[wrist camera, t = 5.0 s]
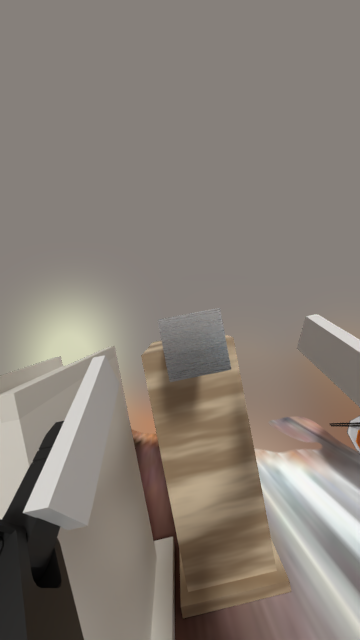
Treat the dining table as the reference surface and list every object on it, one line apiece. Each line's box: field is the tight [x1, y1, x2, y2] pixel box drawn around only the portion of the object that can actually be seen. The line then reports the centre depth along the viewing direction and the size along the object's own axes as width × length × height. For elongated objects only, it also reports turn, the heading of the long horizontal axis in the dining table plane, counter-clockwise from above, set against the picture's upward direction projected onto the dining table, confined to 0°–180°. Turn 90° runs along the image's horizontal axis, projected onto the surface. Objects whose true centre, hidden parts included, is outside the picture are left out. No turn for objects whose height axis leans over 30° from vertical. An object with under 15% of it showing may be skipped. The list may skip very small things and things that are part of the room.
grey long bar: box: [158, 308, 231, 382], centre depth 25 cm, size 28×4×4 cm, turn 2°
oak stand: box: [141, 335, 291, 618], centre depth 28 cm, size 14×14×33 cm
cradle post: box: [0, 346, 175, 640], centre depth 18 cm, size 20×14×34 cm
